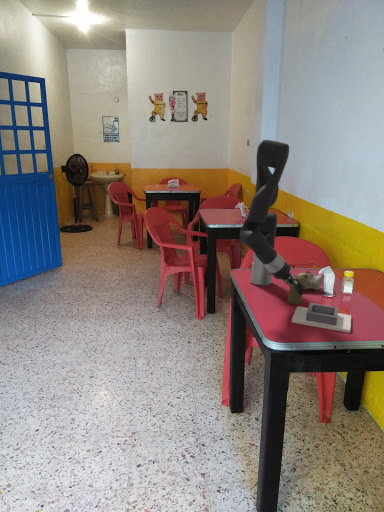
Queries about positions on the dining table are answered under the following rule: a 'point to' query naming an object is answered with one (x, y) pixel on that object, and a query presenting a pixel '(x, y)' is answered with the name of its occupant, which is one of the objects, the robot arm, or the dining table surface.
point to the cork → (295, 293)
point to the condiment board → (322, 317)
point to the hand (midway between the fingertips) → (299, 291)
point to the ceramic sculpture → (311, 281)
